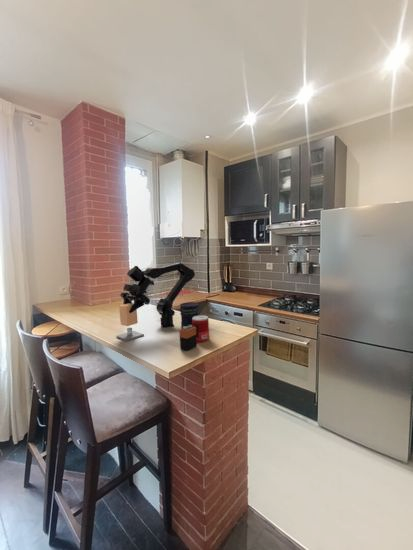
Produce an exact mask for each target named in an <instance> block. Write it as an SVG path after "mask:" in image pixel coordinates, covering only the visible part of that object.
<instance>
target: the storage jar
mask: <svg viewBox="0 0 413 550" xmlns="http://www.w3.org/2000/svg"><path fill="white" fill-rule="evenodd" d="M179 306H180V308H179V310H180V311H179V312H180V319H181V321H180V329H182V328H183V327H185V326H189V325H192V318H193V317H194V316H199V313H200V308H199V302H195V301H189V302H187V301H186V302H183V303H180V304H179ZM192 326H193V325H192Z"/></svg>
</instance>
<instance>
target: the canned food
mask: <svg viewBox="0 0 413 550" xmlns="http://www.w3.org/2000/svg"><path fill="white" fill-rule="evenodd" d="M198 315H199V314H198ZM209 323H210V322H209V316H207V315H203V314H201V315H199V316H194V317H193V318H192V325H193V326H194V327H196V340H197V343H205V342H208V341H209V339H210V326H209V325H210V324H209Z"/></svg>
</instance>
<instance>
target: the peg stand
mask: <svg viewBox="0 0 413 550" xmlns="http://www.w3.org/2000/svg"><path fill="white" fill-rule="evenodd" d="M144 336H145V334H144V333H141V332H138V331H136V330H133V327H127V328H126V332H124V333H120V334H118V335H116V336H115V337H117V339H119V338H120V339H119V340H121V339H122V341H124V340H125V341H124V342H126V341H127V342H129V340H130V341H133V340H135V339H140V338H141V337H142V338H143V337H144ZM132 339H133V340H132Z"/></svg>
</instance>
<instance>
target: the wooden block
mask: <svg viewBox="0 0 413 550" xmlns="http://www.w3.org/2000/svg"><path fill="white" fill-rule="evenodd" d="M132 305H133V302H132V303H127V304H120V305H119V306H118V308H119V309H118V310H119V319H120V325H122V326H125V327H130V326H132V325H137V324H138V322H139V321H138V311H137V310H138V309H136V310H135V311H133V312H132V313H129V311H130V309H131V307H132Z"/></svg>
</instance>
